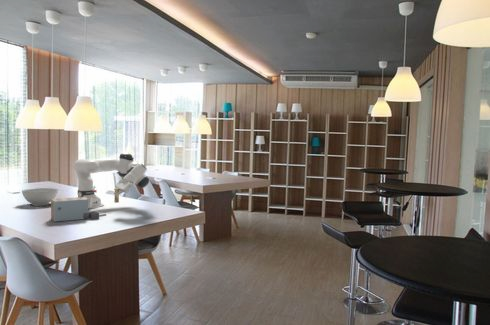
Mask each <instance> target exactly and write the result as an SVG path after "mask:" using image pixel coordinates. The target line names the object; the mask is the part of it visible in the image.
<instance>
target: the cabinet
mask: <svg viewBox="0 0 490 325" xmlns="http://www.w3.org/2000/svg"><path fill="white" fill-rule="evenodd" d="M79 199H87V198H86V197H78V196H76V197H61V198H54V199H51V202H50V219H51V221H52V222H54V201H63V200H79Z"/></svg>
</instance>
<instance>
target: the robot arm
mask: <svg viewBox="0 0 490 325" xmlns="http://www.w3.org/2000/svg"><path fill="white" fill-rule="evenodd" d="M73 168H74V171H75V172H76V175H77V176H76V177H77V188H78V189H77V197H86V198H87V199H88V209H96V208H100V207H104V206H105V204H104V203H102V201H101V198H100V197H99V196H97V195H96V194H95V193H97V189H94V188H93V187H94V180H93V178H92V177H91V175H92V174H97V173H103V172H105V173H106V172H112V171H117V172H116V174H118V176H119V177H120V180H119V181H118V182H117V183H116V184H115V186H114V189H115V188H119V192H117V193H116V195H117V196H118V195H119V196H120V195H121V194H122V193H126V194H127V193H128V192H129V191H131V189H132V188H133V186H134V185H137V187H138V188H139V189H140V188H141V189H143V188H146V187H147V186H148V185H149V183H150V177H148V176H146V174H145V173H146V172H147V170H148V169H147V167H146V166H145V165H144V164H143V163H141V162H139V161H138V160H135V157H133V155H132V154H131V153H130V152H122V153H120V154H119V159H118V158H112V157H111V158H107V157H106V158H96V159H84V158H80V159H77V160H76V161H75V162H74V163H73ZM113 194H114V195H115V192H114V193H113Z"/></svg>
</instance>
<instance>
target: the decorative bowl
mask: <svg viewBox="0 0 490 325" xmlns="http://www.w3.org/2000/svg"><path fill="white" fill-rule="evenodd" d="M58 192H59V189H57V188H51V187H49V188H48V187H40V188H39V187H37V188H36V187H35V188H27V189H22V190H21V194H22V196H23V198H24V199H25V201H27V203H30V205H31V206H37V207H39V206H40V207H41V206H47V205H49V203H51V199H56V196H57V195H58Z"/></svg>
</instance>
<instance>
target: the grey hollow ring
mask: <svg viewBox="0 0 490 325" xmlns="http://www.w3.org/2000/svg"><path fill="white" fill-rule="evenodd" d="M98 219H100V211H98V210H93V211H92V210H91V211H88V213H84V219H83V220H98Z"/></svg>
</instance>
